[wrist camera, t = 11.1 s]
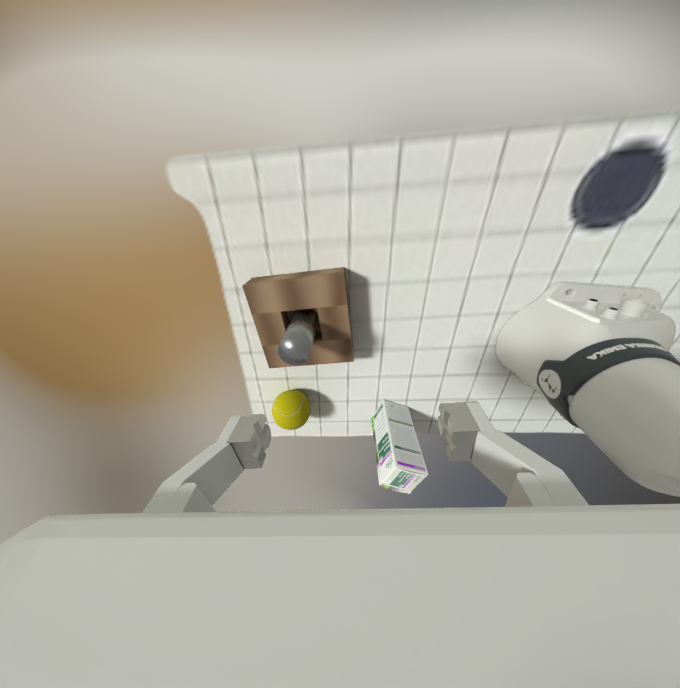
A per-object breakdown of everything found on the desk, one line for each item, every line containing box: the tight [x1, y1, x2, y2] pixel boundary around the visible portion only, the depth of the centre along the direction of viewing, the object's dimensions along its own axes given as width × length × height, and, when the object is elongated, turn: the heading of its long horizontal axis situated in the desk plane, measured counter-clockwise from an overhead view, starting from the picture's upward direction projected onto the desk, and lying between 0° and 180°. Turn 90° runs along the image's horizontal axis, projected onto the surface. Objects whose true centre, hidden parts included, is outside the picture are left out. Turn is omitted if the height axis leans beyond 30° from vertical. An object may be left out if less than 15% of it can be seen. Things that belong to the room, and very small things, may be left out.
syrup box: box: [371, 400, 428, 494], centre depth 45 cm, size 6×6×14 cm
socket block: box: [243, 267, 354, 368], centre depth 39 cm, size 14×14×4 cm
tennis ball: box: [272, 390, 310, 430], centre depth 47 cm, size 7×7×7 cm
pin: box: [278, 309, 319, 365], centre depth 35 cm, size 4×4×10 cm
